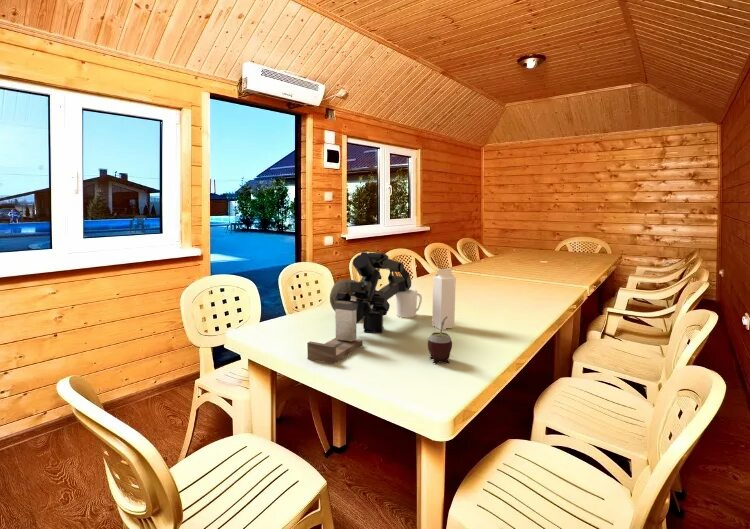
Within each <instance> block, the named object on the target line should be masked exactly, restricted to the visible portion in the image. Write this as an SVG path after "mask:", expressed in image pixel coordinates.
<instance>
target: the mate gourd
mask: <svg viewBox="0 0 750 529" xmlns="http://www.w3.org/2000/svg"><path fill="white" fill-rule="evenodd" d="M446 319H447V317H445V318H444V319H443V321H442V323H441V330H440V329H439V331H437V332H433V333H431V334H430V335H429V337H428V339H427V349H428V351H429V354H430V357H429V359H430V358H431V359H434V360H433V361H432V364H433V363H437V362H439V361H442V362H441V363H443V362H446V363H449V364H450V361H449V359H450V356H451V352H452V349H453V348H452V347H453V342H452V337H451V336H450V334H449V333H446V332H443V325H444V321H445V320H446ZM431 359H430V360H431ZM439 363H440V362H439ZM446 363H445V364H446ZM437 364H438V363H437Z"/></svg>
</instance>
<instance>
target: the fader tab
mask: <svg viewBox="0 0 750 529" xmlns="http://www.w3.org/2000/svg"><path fill="white" fill-rule="evenodd" d="M334 309H335V311H334V312H335V314H334V315H335V338H336V339H339V340H345V341H351V342H352V341H354V340H356V339H358V338H357V324H356V310H357V309H358V303H355V302H346V301H337V302H334Z"/></svg>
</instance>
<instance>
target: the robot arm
mask: <svg viewBox="0 0 750 529" xmlns="http://www.w3.org/2000/svg"><path fill="white" fill-rule="evenodd" d="M352 266H353V267H354V269H355V270H356V272H357V273H358V274H359V276H360V277H361V279H360V281H357V282H350V285H349V291H352V292H353V293H352V294H353V295H355V297H353V296H350V295H349V294H348V293H344V292H338V293H337V294H336V297H335V299H336V300H337V301H346V302H355V303H358V309H357V310H356V325H357V324H359V322H360V321H363V322H362V323H363V332H364V333H378V334H380V333H383V330H384V328H385V326H384V316H387V314H388V312H389V310H390V307H391V306H390V303H389V301H388V300H389V299H391V298H392V297H394V296H396V293H398V292H405V291H408V290H409V289H411V287H412V278H411V274H410V273H409V271H407V269H406V268H405V265H404V263H403V262H401V261H397V260H394V259H391V258H389V255H388V254H386V253H385V252H368V251H367V252H366V251H362V252H361V253H360V254H359V255H357V256H355V258H353V260H352ZM380 269H381V270H387V271H389V274H388V277H387V280H388V283H387V284H386V285H384V286H383V287H382V288H380V289H379V290H377V289H376V288H377V285H378V282H379V280H382V275H381V272H380V271H379V270H380ZM393 272H394V273H399V274H400V275H393Z"/></svg>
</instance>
